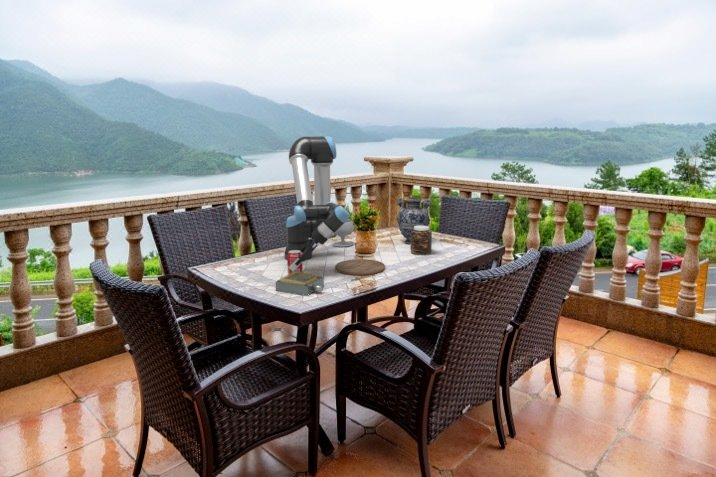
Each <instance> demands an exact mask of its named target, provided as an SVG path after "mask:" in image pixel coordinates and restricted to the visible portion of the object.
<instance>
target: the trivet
mask: <svg viewBox="0 0 716 477" xmlns="http://www.w3.org/2000/svg"><path fill="white" fill-rule="evenodd" d="M334 268H335V271H336V272H337V273H339V274H342V275H346V276H353V277H362V276H363V277H365V276H374V275H378V273H379V274H380V273H383V272H384V271H385V270H386V264H385V263H383V262H381V261H379V260H375V259H367V258H355V259H346V260H341V261H339V262H337V263H336V264H335V265H334Z"/></svg>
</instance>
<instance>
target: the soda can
mask: <svg viewBox="0 0 716 477" xmlns="http://www.w3.org/2000/svg"><path fill="white" fill-rule="evenodd" d="M301 255H302V254H301V251H300V250H291V251H289V253H288V255H287V259H286V260H287V261H286V262H287V275H289V274H291V273H293V272H295V271H296V272H303V268H304V267H303V262H302V263H301V264H300V265H299V266H298V267H297V268H296V269H295V270H294V271H292V270H291V269H290V268H289V267H290V266H291V265H292V264H293V263H294V262H295V260H296V259H297V258H298V256H301ZM303 273H304V272H303Z"/></svg>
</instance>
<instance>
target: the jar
mask: <svg viewBox="0 0 716 477" xmlns="http://www.w3.org/2000/svg"><path fill="white" fill-rule="evenodd" d="M432 232H433V231H432V230H431V229H430V226H429V225H428V226H422V225H419V226H414V229H413V230H411V244H410V249H409V250H410V254H412V255H416V256H428V255H432V248H433V233H432Z"/></svg>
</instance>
